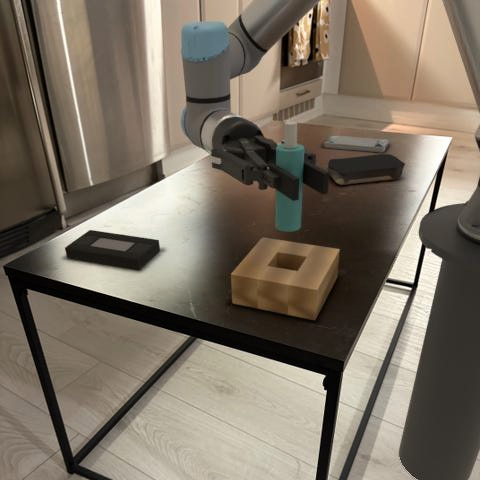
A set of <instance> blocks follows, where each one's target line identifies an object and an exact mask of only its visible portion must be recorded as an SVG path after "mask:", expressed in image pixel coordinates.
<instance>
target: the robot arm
mask: <svg viewBox="0 0 480 480" xmlns="http://www.w3.org/2000/svg"><path fill="white" fill-rule="evenodd" d="M321 1H322V0H252V1H251V2H250V3H249V4H248V5H247V6H246V7H245V9H244V10H243V11H242V12H241V13H240V15H239V16H237V17H236V18H235V19H234V20H233V21H232V23H231V24H229V26H227V24H226V23H224V22H223V21H216V20H215V21H211V20H209V21H207V20H206V21H195V22H194V21H193V22H188V23H185V24H184V25H183V26H182V27H181V30H180V36H181V40H180V41H181V48H180V55H181V61H182V70H183V80H184V91H185V106H184V108H183V110H182V112H181V116H180V127H181V130H182V132H183V134H184V135H185V137H187V139H188V140H189V141H190V142H191V144H193V145H194V146H196V147H198V148H200V149H202V150H204V151H205V152H206V153H208V154H209V155H210V156H211V157H210V158H211V168H212V169H215V170H219V171H222V172H223V173H225V174H227V175H228V176H230V177H232V178H233V179H235V180H237V181H238V182H240V183H242V184H243V185H245V186H252V185H254V182H257V184H258V190H260V191H265V190H267V189H268V188H271V189H274V190H275V191H276V190H277V191H279V192H280V193H282V194H284V195H285V196H287V197H288V198H290V199H291V200H293V201H296V200H299V178H298V177H296V176H294V175H292V174H291V173H289V172H287V171H286V170H284V169H282V168H280V167H279V166H277V165H276V147H277V146H278V145H281V144H284V139H281V141H280V142H276V141H275V140H274V139H272V138H267V137H265V135H264V133H263V132H262V129H261V128H260V127H259V126H258V125H257V124H256V123H254V122H253V121H250V120H248V119H247V118H245V117H243V116H241V115H238V114H236V113H235V112H232V106H231V105H232V103H231V102H232V101H231V98H232V97H231V95H232V94H231V80H232V79H235V78H237V77H240V76H242V75H245V74H248V73H250V72H252V71H253V70H254V69H255V68H256V67H257V66H259V64H260V63H261V61H262V59H263V57H264V56H265V55H266V54H267V53H268V52H269V51H270V50H271V49H272V48H273V47H274V46H275V45H276V44H277V43H278V42H280V40H281V39H282V38H283V37H284V36H285V35H286V34H287V33H289V32H290V31H291V29H293V28H294V27H295V26H296V25H297V24H298V23H299V22H300V21H301V20H302V19H304V17H305V16H306V15H307V14H308V13H309V12H311V11H312V9H314V8H315V7H316V5H318V3H320V2H321ZM441 1H442V3H443V6H444V10H445V13H446V16H447V18H448V22H449V24H450V25H449V26H450V29H451V31H452V34H453V37H454V40H455V43H456V46H457V49H458V52H459V55H460V59H461V61H462V64H463V67H464V70H465V74H466V77H467V79H468V82H469V86H470V89H471V91H472V94H473V97H474V100H475V103H476V106H477V107H476V108H477V110H478V113H479V114H480V0H441ZM474 139H475V143H476V145H477V148H478V151H479V152H480V124H479V125H478V127H477V128H476V130H475V133H474ZM329 184H330V175H329V172H328V171H327V170H326V169H323V168H321V167H320V166H318V165H317V153H315V152H313V151H311V150H310V149H308V148H306V147H304V168H303V185H306V186H307V187H309V188H311V189H312V190H314V191H316V192H317V193H318V194H321V195H322V196H323V195H328V194H329ZM464 203H465V205H466V206H465V205H464V206H465V207H464V209H463V210H462V212H461V214H460V216H459V218H458V222H457V226H456V228H457V231H458V233H459V234H460V235H461V236H463V237H464V238H465V239H467V240H469V241H471V242H473V243H475V244H478V245H480V176H479V178H478V181H477V185H476V188H475V190H474V191H473V192H472V193H471V196H470V198H469V199H468V200H466V201H465V202H464Z"/></svg>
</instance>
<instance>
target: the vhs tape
mask: <svg viewBox="0 0 480 480" xmlns="http://www.w3.org/2000/svg"><path fill="white" fill-rule="evenodd" d="M160 245H161V244H160V240H159V239H154V238H148V237H141V236H135V235H127V234H121V233H114V232H106V231H101V230H100V231H99V230H94V229H89V230H88V231H86V232H85V233H84V234H82V235H81V236H79V237H78V238H76V239H74V240H73V241H71V243H69V244H68V245H66V246H65V247H64V251H65V255H66V258H68V259H74V260H80V261H85V262H91V263H97V264H102V265H109V266H113V267H119V268H127V269H132V270H138V271H139V270H141V269H142V268H143V267H144V266H145V265H147V264H148V263H149V262H150V261H151V260H152V259H153V258H154V257H155V256H156V255H157V254H158V253H159V252H160V251H161V246H160Z"/></svg>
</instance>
